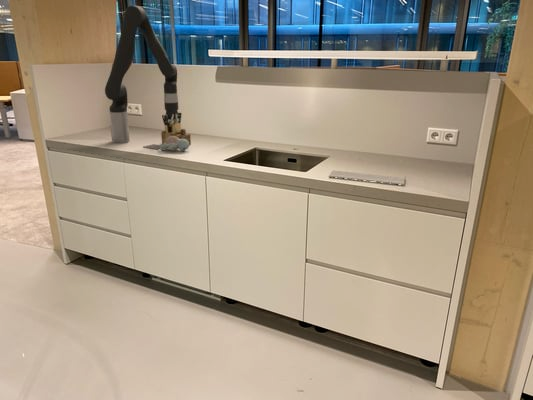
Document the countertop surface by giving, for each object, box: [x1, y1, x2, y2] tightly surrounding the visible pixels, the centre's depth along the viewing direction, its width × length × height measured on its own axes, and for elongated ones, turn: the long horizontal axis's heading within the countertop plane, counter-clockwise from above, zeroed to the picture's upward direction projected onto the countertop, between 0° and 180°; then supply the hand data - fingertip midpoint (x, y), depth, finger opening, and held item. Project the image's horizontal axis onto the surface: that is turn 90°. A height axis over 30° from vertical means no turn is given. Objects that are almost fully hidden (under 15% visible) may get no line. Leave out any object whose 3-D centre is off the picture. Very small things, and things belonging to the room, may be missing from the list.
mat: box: [143, 143, 163, 150], centre depth 226 cm, size 10×8×1 cm
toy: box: [159, 136, 190, 152], centre depth 218 cm, size 12×10×15 cm
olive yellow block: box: [164, 121, 182, 134], centre depth 232 cm, size 8×5×7 cm, turn 60°
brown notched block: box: [161, 128, 192, 146], centre depth 233 cm, size 15×8×9 cm, turn 60°
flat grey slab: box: [328, 170, 406, 186], centre depth 175 cm, size 31×3×12 cm
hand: (173, 131), depth 233 cm, fingers closed on olive yellow block, 4 cm apart
